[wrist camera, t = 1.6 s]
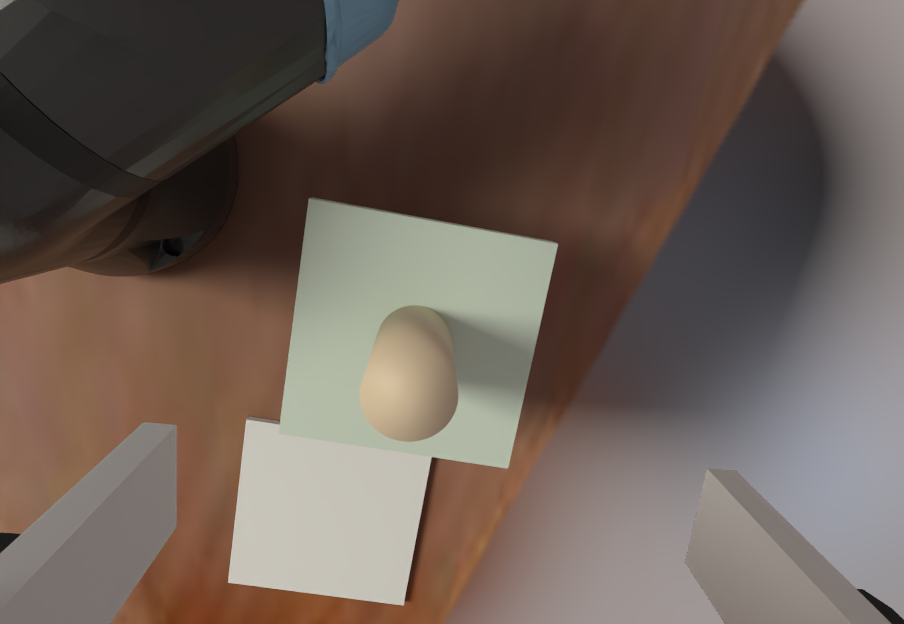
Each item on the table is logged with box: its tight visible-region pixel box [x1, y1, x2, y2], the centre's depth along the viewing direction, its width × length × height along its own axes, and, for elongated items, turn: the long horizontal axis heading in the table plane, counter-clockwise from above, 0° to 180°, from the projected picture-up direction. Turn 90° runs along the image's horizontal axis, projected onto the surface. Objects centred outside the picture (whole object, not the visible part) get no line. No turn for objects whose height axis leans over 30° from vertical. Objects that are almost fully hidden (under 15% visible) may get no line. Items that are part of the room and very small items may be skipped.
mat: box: [228, 416, 432, 605], centre depth 46 cm, size 14×14×1 cm
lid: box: [279, 198, 558, 469], centre depth 28 cm, size 13×13×9 cm
